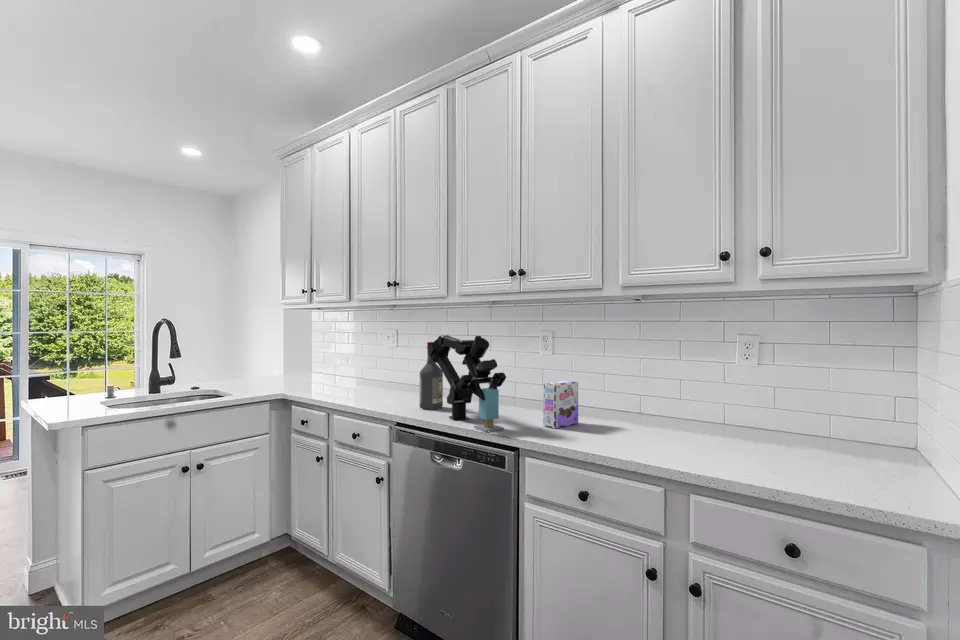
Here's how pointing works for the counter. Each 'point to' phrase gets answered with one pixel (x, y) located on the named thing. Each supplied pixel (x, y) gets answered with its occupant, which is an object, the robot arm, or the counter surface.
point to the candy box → (560, 404)
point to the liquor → (431, 385)
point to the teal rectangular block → (489, 404)
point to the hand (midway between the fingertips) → (490, 399)
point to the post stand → (489, 426)
